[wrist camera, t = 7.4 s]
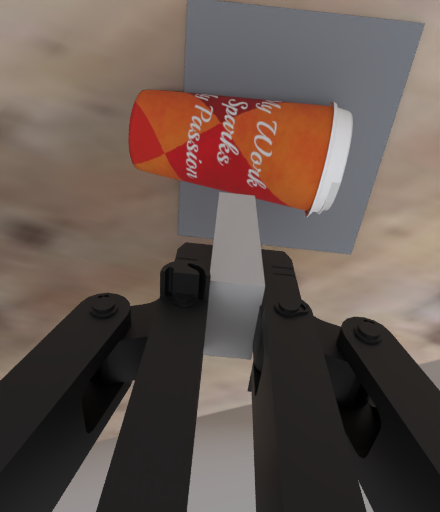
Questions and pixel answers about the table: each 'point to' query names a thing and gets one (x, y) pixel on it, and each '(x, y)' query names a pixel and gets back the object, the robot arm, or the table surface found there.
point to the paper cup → (243, 145)
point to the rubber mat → (300, 100)
